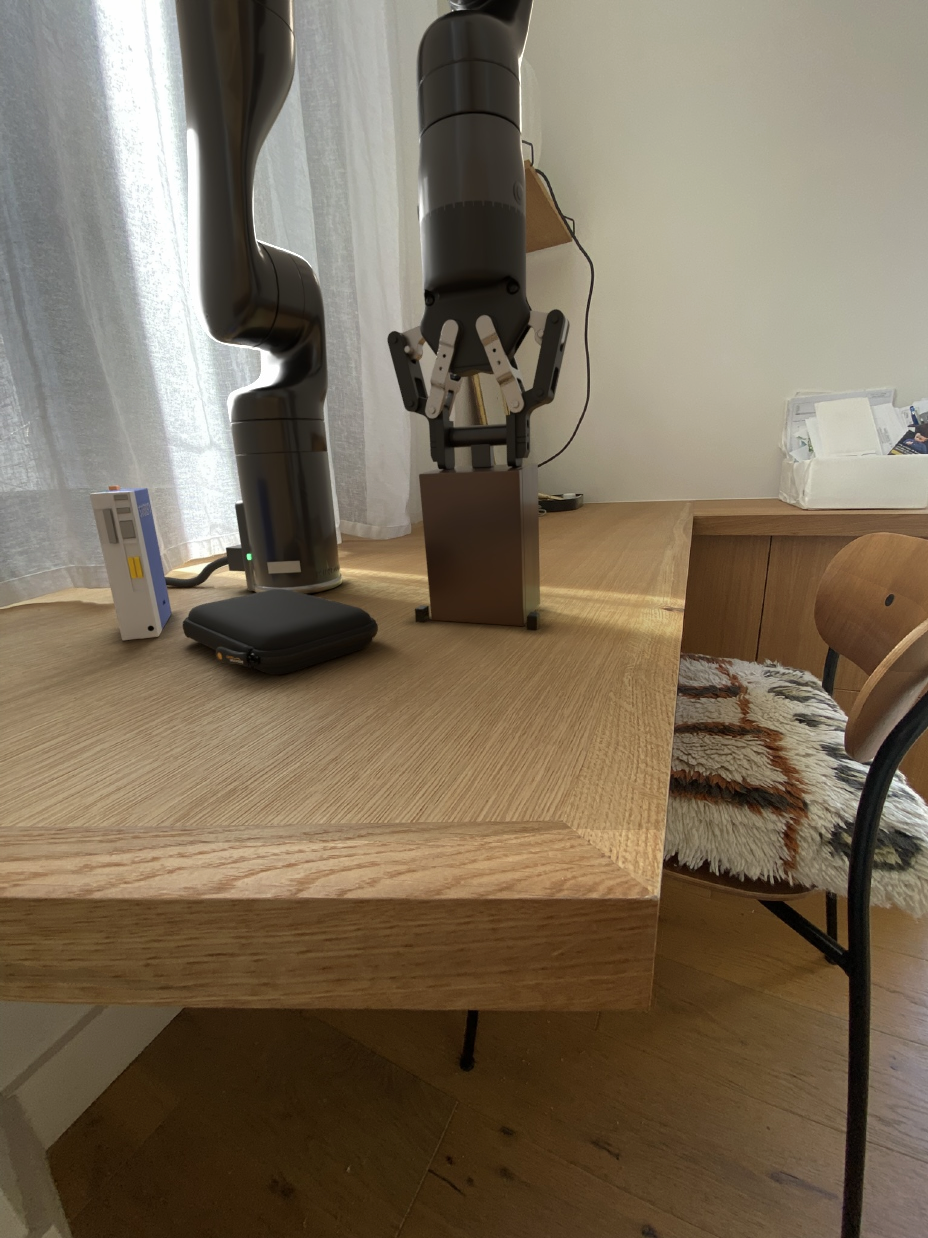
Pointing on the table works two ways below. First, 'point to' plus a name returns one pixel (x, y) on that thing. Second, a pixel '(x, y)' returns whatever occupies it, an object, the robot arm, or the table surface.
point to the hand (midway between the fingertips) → (479, 466)
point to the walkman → (132, 561)
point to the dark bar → (532, 617)
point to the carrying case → (279, 630)
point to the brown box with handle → (482, 534)
